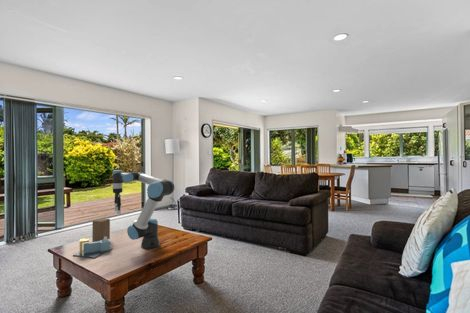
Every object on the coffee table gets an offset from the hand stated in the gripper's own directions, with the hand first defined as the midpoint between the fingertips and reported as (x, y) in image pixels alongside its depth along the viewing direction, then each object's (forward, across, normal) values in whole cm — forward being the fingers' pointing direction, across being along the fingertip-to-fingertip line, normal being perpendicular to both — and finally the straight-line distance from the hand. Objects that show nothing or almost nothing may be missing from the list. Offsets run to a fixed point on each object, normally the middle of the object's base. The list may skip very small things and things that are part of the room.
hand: (117, 212), depth 213 cm
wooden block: (+29, -17, -11) cm, 35 cm away
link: (+28, +7, -16) cm, 33 cm away
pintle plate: (+29, +6, -18) cm, 34 cm away
